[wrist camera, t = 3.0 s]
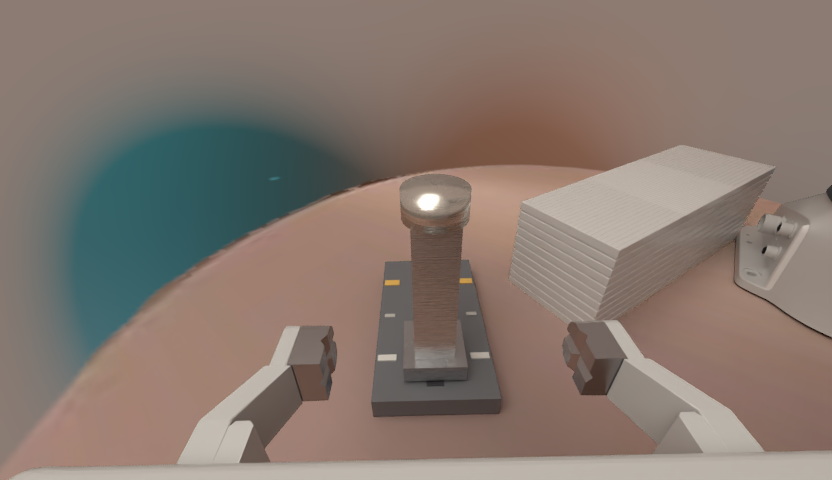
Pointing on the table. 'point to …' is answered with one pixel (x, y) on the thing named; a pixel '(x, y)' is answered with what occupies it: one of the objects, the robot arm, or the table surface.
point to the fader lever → (435, 276)
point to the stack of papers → (631, 230)
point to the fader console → (431, 395)
